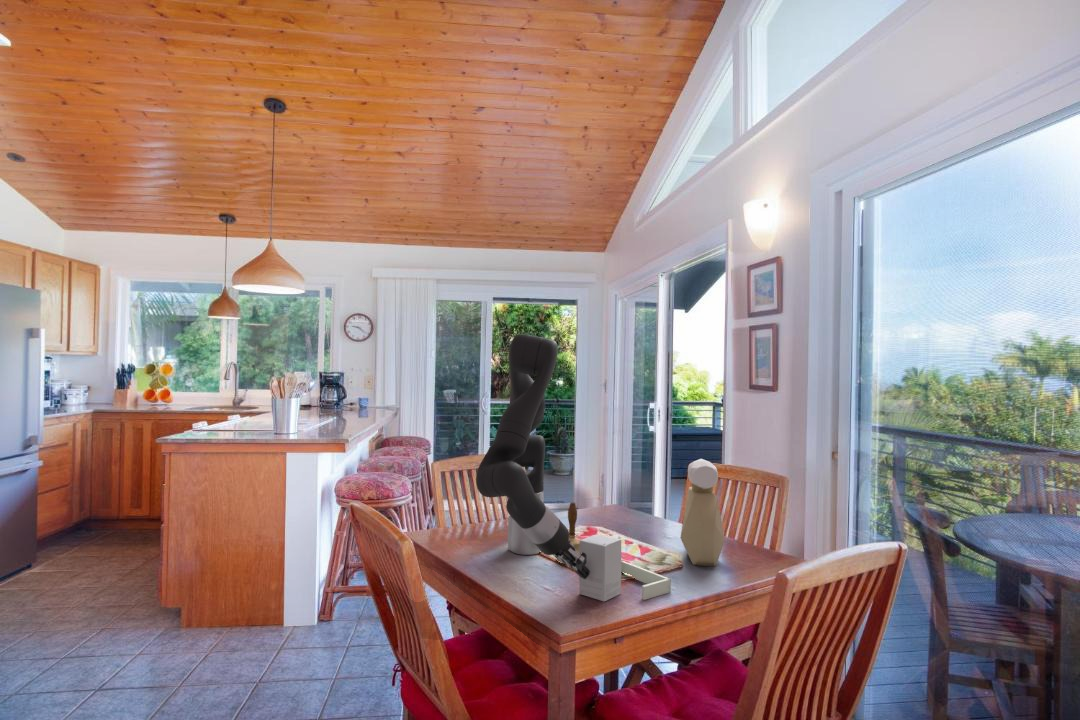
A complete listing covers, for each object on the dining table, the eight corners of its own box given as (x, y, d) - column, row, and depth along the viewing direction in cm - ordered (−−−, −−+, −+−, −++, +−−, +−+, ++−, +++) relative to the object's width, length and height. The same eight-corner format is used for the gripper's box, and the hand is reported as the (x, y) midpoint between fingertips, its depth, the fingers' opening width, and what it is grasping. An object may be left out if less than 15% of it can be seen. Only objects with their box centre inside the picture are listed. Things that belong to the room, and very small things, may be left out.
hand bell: (591, 559, 161) (592, 501, 161) (576, 567, 154) (577, 507, 154) (565, 554, 166) (567, 497, 166) (550, 561, 159) (551, 502, 159)
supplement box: (622, 593, 136) (622, 539, 137) (604, 602, 131) (604, 546, 131) (596, 585, 141) (597, 533, 141) (577, 594, 136) (578, 539, 136)
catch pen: (644, 600, 133) (644, 586, 133) (595, 578, 146) (595, 566, 146) (670, 591, 138) (670, 579, 138) (621, 571, 151) (621, 560, 152)
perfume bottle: (685, 572, 152) (687, 465, 152) (675, 545, 176) (676, 452, 176) (733, 575, 150) (734, 466, 151) (716, 548, 174) (717, 454, 175)
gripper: (573, 521, 123) (614, 569, 130) (536, 508, 133) (576, 553, 140) (552, 550, 120) (596, 598, 126) (516, 535, 130) (558, 580, 137)
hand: (585, 574), depth 133 cm, fingers closed
